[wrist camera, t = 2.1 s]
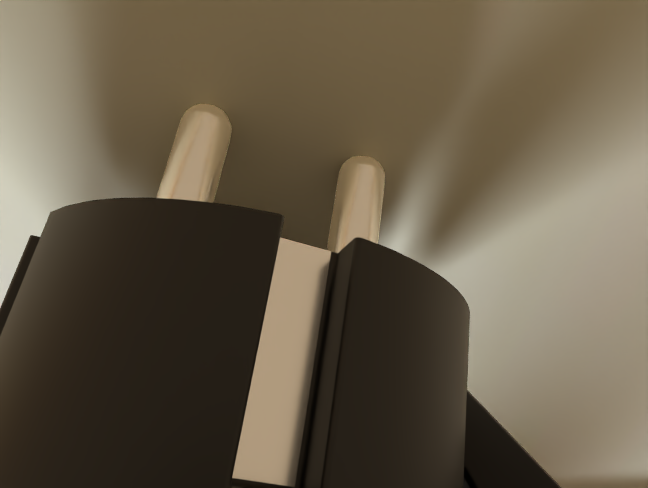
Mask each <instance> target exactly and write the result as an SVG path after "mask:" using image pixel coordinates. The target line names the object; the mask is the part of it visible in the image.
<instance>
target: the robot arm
mask: <svg viewBox="0 0 648 488" xmlns="http://www.w3.org/2000/svg"><path fill="white" fill-rule="evenodd" d="M463 488H561V487H560V486H559V485H558V484H557V482H556V481H555V480H554V479H553V478H552V477H551V476H550V475H549V474H548V473H547V472H546V471H545V470H544V469H543V468H542V467H541V466H540V465H539V464H538V463H537V462H536V461H535V460H534V459H533V458H532V457H531V456H530V455H529V453H528V452H527V451H526V450H525V449H524V448H523V447H522V446H521V445H520V444H519V443H518V442H517V441H516V440H515V439H514V438H513V437H512V436H511V435H510V434H509V433H508V432H507V431H506V430H505V429H504V428H503V427H502V426H501V424H500V423H499V422H498V421H497V420H496V419H495V418H494V417H493V416H492V415H491V414H490V413H489V412H488V411H487V410H486V409H485V408H484V407H483V406H482V405H481V404H480V403H479V402H478V401H477V400H476V399H475V398H474V397H473V395H472V394H471V393H470V392H469V391H468V390H467V400H466V427H465V453H464V480H463Z"/></svg>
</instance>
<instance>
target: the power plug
mask: <svg viewBox="0 0 648 488" xmlns="http://www.w3.org/2000/svg"><path fill="white" fill-rule="evenodd" d="M231 130H232V125H231V123H230V121H229V118H228V116H227V114H226V113H225V112H224V111H223V110H222V109H220V108H218V107H216V106H214V105H210V104H205V103H201V104H196V105H194V106H192V107H190V108H189V109H187V110H186V111H185V113H184V114H183V116H182V118H181V121H180V124H179V127H178V130H177V133H176V136H175V140H174V143H173V146H172V149H171V152H170V155H169V159H168V162H167V165H166V168H165V171H164V174H163V177H162V181H161V184H160V187H159V190H158V193H157V196H156V198H113V199H103V200H93V201H87V202H82V203H77V204H73V205H68V206H65V207H62V208H60V209H57V210H55V211H52V212H50V215H49V217H48V220H47V222H46V225H45V227H44V230H43V232H42V234H41V237H37V236H33V235H31V236H30V238H29V240H28V243H27V245H26V248H25V250H24V252H23V255H22V257H21V260H20V262H19V264H18V267H17V269H16V272H15V274H14V276H13V279H12V281H11V284H10V286H9V289H8V291H7V293H6V296H5V298H4V301H3V303H2V305H1V308H0V488H463V480H464V453H465V427H466V400H467V373H468V347H469V320H470V311H469V307H468V304H467V302H466V301H465V299H464V297H463V296H462V295H461V294H460V293H459V291H458V290H457V289H456V288H455V287H454V286H453V285H451V284H450V283H449V282H448V281H447V280H445V279H444V278H443V277H441V276H440V275H438V274H437V273H435V272H434V271H432V270H430V269H429V268H427V267H426V266H424V265H422V264H420V263H418V262H417V261H415V260H413V259H411V258H408V257H406V256H404V255H402V254H400V253H398V252H396V251H394V250H392V249H389V248H387V247H384V246H382V245H379V244H378V238H379V230H380V221H381V212H382V204H383V195H384V187H385V172H384V169H383V167H382V166H381V164H380V163H379V162H378V161H377V160H376V159H374V158H372V157H369V156H363V155H361V156H353V157H351V158H349V159H348V160H347V161H346V162H345V163H344V164H342V166H341V169H340V171H339V174H338V181H337V187H336V193H335V200H334V206H333V212H332V218H331V225H330V231H329V237H328V243H327V250H324V249H321V248H317V247H313V246H310V245H306V244H302V243H299V242H295V241H291V240H288V239H284V238H281V237H280V236H281V231H282V226H283V221H284V216H282V215H280V214H276V213H270V212H265V211H260V210H255V209H250V208H245V207H239V206H232V205H225V204H218V203H214V199H215V196H216V192H217V188H218V184H219V180H220V177H221V173H222V169H223V165H224V162H225V158H226V154H227V150H228V146H229V143H230V139H231V134H232V133H231Z"/></svg>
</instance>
